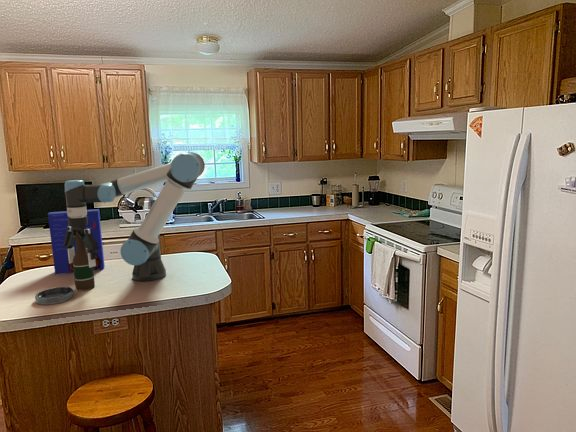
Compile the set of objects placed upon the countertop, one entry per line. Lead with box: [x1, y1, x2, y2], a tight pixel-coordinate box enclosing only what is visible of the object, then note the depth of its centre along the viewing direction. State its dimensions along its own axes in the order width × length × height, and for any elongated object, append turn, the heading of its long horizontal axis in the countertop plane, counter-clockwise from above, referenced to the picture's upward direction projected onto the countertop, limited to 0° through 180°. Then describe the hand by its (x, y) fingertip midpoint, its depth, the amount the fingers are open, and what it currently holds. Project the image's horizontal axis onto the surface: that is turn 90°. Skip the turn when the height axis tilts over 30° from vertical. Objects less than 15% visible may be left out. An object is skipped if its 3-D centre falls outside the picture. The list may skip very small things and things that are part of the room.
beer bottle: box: [73, 235, 95, 291], centre depth 184 cm, size 8×8×24 cm
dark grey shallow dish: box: [34, 286, 74, 306], centre depth 173 cm, size 13×13×3 cm
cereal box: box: [47, 208, 105, 275], centre depth 210 cm, size 22×6×30 cm, turn 109°
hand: (82, 264), depth 184 cm, fingers open, 13 cm apart
